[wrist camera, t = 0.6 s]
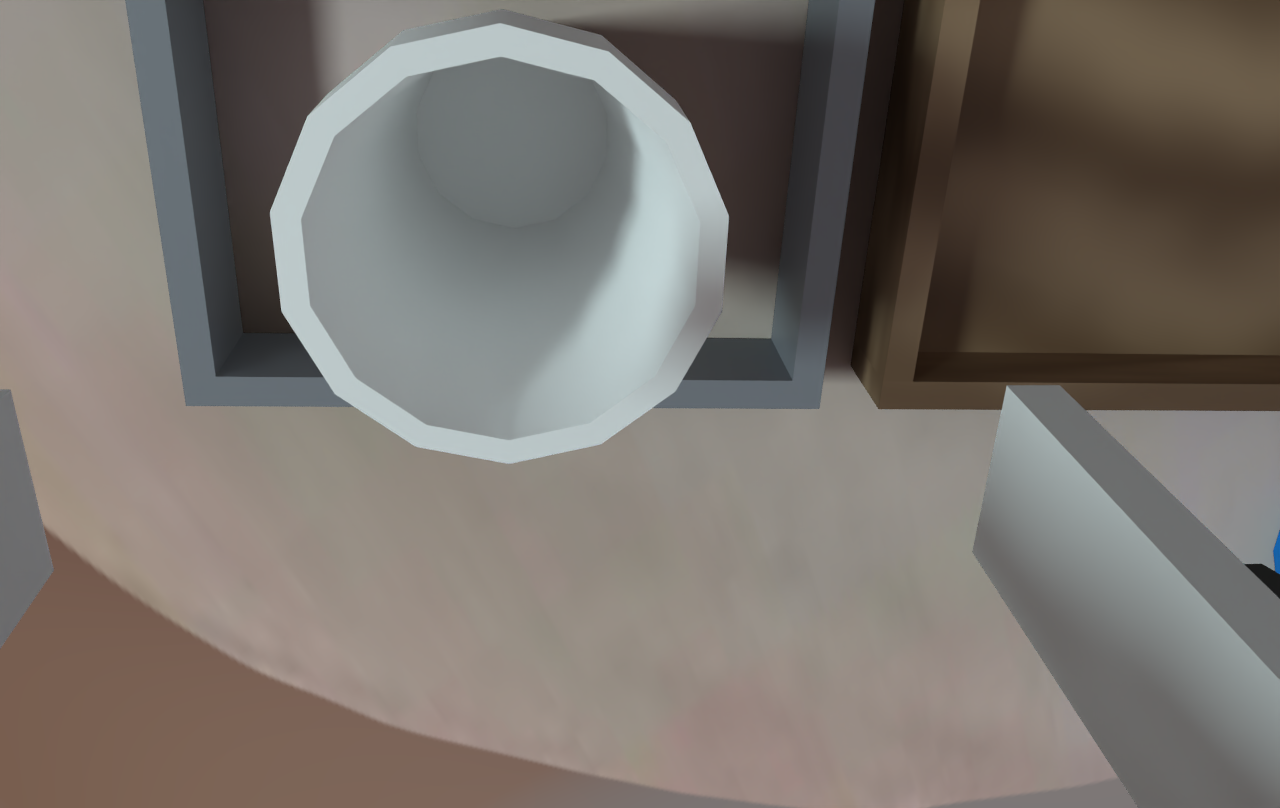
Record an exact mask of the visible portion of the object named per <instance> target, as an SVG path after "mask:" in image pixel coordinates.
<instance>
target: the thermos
mask: <svg viewBox="0 0 1280 808" xmlns="http://www.w3.org/2000/svg"><path fill="white" fill-rule="evenodd" d="M1273 552H1274V562H1275V572H1277V573H1278V574H1280V531H1279V535H1278V538H1277V541H1276V544H1275V547H1274V551H1273Z"/></svg>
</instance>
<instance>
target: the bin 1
mask: <svg viewBox="0 0 1280 808" xmlns="http://www.w3.org/2000/svg"><path fill="white" fill-rule="evenodd" d="M125 1H126V8H127V15H128V22H129V28H130V35H131V42H132V48H133V55H134V62H135V68H136V75H137V82H138V88H139V95H140V102H141V108H142V115H143V122H144V128H145V135H146V142H147V148H148V155H149V162H150V168H151V175H152V182H153V188H154V195H155V202H156V208H157V215H158V222H159V228H160V235H161V242H162V248H163V255H164V262H165V268H166V275H167V282H168V289H169V295H170V302H171V309H172V315H173V322H174V329H175V335H176V342H177V349H178V355H179V362H180V369H181V375H182V382H183V389H184V395H185V402H186V406H323V407H354V406H352V405H351V404H349V403H348V402H346V401H345V400H343V399H342V398H340V397H339V396H337V395H335V394H334V392H333V390H332V389H331V387H330V386H329V384H328V383H327V381H326V380H325V378H324V377H323V375H322V373H321V372H320V370H319V369H318V367H317V366H316V364H315V363H314V361H313V360H312V358H311V357H310V355H309V353H308V352H307V350H306V349H305V347H304V346H303V344H302V343H301V341H300V340H299V338H298V336H297V335H296V334H288V333H243V329H242V321H241V313H240V304H239V296H238V288H237V279H236V271H235V263H234V254H233V246H232V238H231V229H230V221H229V213H228V204H227V196H226V188H225V179H224V171H223V163H222V155H221V146H220V138H219V130H218V121H217V113H216V105H215V96H214V88H213V80H212V71H211V63H210V55H209V46H208V38H207V30H206V21H205V13H204V5H203V0H125ZM874 4H875V0H809V4H808V13H807V22H806V31H805V40H804V49H803V58H802V67H801V76H800V85H799V94H798V103H797V112H796V121H795V130H794V139H793V148H792V157H791V166H790V175H789V184H788V193H787V202H786V211H785V220H784V229H783V238H782V247H781V256H780V265H779V274H778V283H777V292H776V301H775V310H774V319H773V328H772V337H771V339H731V338H706V340H705V342H704V343H703V345H702V347H701V348H700V350H699V352H698V354H697V355H696V357H695V359H694V361H693V362H692V364H691V366H690V367H689V369H688V371H687V373H686V374H685V376H684V378H683V379H682V381H681V383H680V385H679V386H678V388H677V390H676V391H675V392H674V393H673V394H671V395H670V396H668V397H667V398H666V399H664V400H663V401H661V402H660V403H658V404H657V405H656V406H654V407H653V408H761V409H819V407H820V400H821V393H822V385H823V378H824V371H825V363H826V356H827V349H828V341H829V334H830V327H831V319H832V312H833V305H834V297H835V290H836V283H837V275H838V268H839V261H840V253H841V246H842V239H843V231H844V224H845V217H846V209H847V202H848V195H849V187H850V180H851V173H852V165H853V158H854V151H855V143H856V136H857V129H858V121H859V114H860V107H861V99H862V92H863V85H864V77H865V70H866V63H867V55H868V48H869V41H870V33H871V26H872V19H873V11H874Z"/></svg>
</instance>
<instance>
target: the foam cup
mask: <svg viewBox="0 0 1280 808" xmlns="http://www.w3.org/2000/svg"><path fill="white" fill-rule="evenodd" d="M270 219H271V227H272V236H273V244H274V252H275V261H276V269H277V278H278V286H279V295H280V303H281V312H282V313H283V315H284V316H285V318H286V319H287V321H288V323H289V324H290V326H291V327H292V329H293V330H294V332H295V333H296V335H297V336H298V338H299V340H300V341H301V343H302V344H303V346H304V347H305V349H306V350H307V352H308V353H309V355H310V357H311V358H312V360H313V361H314V363H315V364H316V366H317V367H318V369H319V370H320V372H321V373H322V375H323V377H324V378H325V380H326V381H327V383H328V384H329V386H330V387H331V389H332V390H333V392H334V394H335V395H337V396H339V397H340V398H342V399H343V400H345V401H346V402H348V403H349V404H351V405H352V406H354V407H355V408H357V409H359V410H360V411H362V412H363V413H365V414H366V415H368V416H369V417H371V418H372V419H374V420H375V421H377V422H379V423H380V424H382V425H383V426H385V427H386V428H388V429H389V430H391V431H392V432H394V433H395V434H397V435H399V436H400V437H402V438H403V439H405V440H406V441H408V442H409V443H411V444H412V445H414V446H415V447H420V448H425V449H431V450H436V451H442V452H447V453H453V454H458V455H463V456H469V457H474V458H480V459H485V460H491V461H496V462H502V463H507V464H511V463H516V462H520V461H525V460H530V459H535V458H539V457H544V456H549V455H553V454H558V453H563V452H567V451H572V450H577V449H581V448H586V447H591V446H596V445H600V444H602V443H603V442H605V441H606V440H607V439H609V438H610V437H612V436H613V435H615V434H616V433H617V432H619V431H620V430H622V429H623V428H624V427H626V426H627V425H629V424H630V423H632V422H633V421H634V420H636V419H637V418H639V417H640V416H641V415H643V414H644V413H646V412H647V411H649V410H650V409H651V408H653V407H654V406H656V405H657V404H658V403H660V402H661V401H663V400H664V399H666V398H667V397H668V396H670V395H671V394H673V393H674V392H675V391H676V390H677V388H678V386H679V385H680V383H681V381H682V379H683V378H684V376H685V374H686V373H687V371H688V369H689V367H690V366H691V364H692V362H693V361H694V359H695V357H696V355H697V354H698V352H699V350H700V348H701V347H702V345H703V343H704V342H705V340H706V338H707V336H708V335H709V333H710V331H711V330H712V328H713V326H714V324H715V323H716V321H717V319H718V318H719V316H720V314H721V312H722V305H723V291H724V278H725V264H726V250H727V237H728V223H729V215H728V213H727V210H726V208H725V205H724V203H723V200H722V198H721V196H720V193H719V191H718V188H717V186H716V184H715V181H714V179H713V176H712V174H711V171H710V169H709V167H708V164H707V162H706V159H705V157H704V154H703V152H702V150H701V147H700V145H699V142H698V140H697V138H696V135H695V133H694V130H693V128H692V125H691V123H690V121H689V120H688V118H687V117H686V115H685V114H684V112H683V110H682V109H681V107H680V106H679V104H678V103H677V101H676V100H675V99H674V98H673V97H672V96H671V95H669V94H668V93H667V92H666V91H665V90H664V89H663V88H661V87H660V86H659V85H658V84H657V83H656V82H655V81H653V80H652V79H651V78H650V77H649V76H648V75H647V74H645V73H644V72H643V71H642V70H641V69H640V68H639V67H637V66H636V65H635V64H634V63H633V62H632V61H631V60H629V59H628V58H627V57H626V56H625V55H624V54H623V53H621V52H620V51H619V50H618V49H617V48H616V47H615V46H613V45H612V44H611V43H610V42H609V41H608V40H607V39H605V38H604V37H603V36H602V35H599V34H595V33H592V32H588V31H584V30H580V29H576V28H573V27H569V26H565V25H561V24H558V23H554V22H550V21H546V20H543V19H539V18H535V17H531V16H527V15H524V14H520V13H516V12H512V11H509V10H505V9H500V10H496V11H491V12H486V13H482V14H477V15H472V16H468V17H463V18H458V19H454V20H449V21H444V22H440V23H435V24H430V25H426V26H421V27H416V28H412V29H407V30H403V31H402V32H401V33H400V34H398V35H397V36H396V37H395V38H394V39H392V40H391V41H390V42H389V43H388V44H386V45H385V46H384V47H383V48H382V49H380V50H379V51H378V52H377V53H376V54H374V55H373V56H372V57H371V58H370V59H369V60H367V61H366V62H365V63H364V64H363V65H361V66H360V67H359V68H358V69H357V70H355V71H354V72H353V73H352V74H351V75H349V76H348V77H347V78H346V79H345V80H344V81H342V82H341V83H340V84H339V85H338V86H336V87H335V88H334V89H333V90H332V91H330V92H329V93H328V94H327V95H326V96H325V97H324V98H323V100H322V101H321V102H320V103H319V104H318V105H317V106H316V107H315V108H314V109H313V111H312V112H311V113H310V114H309V115H308V116H307V118H306V121H305V124H304V126H303V129H302V131H301V134H300V136H299V139H298V141H297V144H296V147H295V149H294V152H293V154H292V157H291V159H290V162H289V164H288V167H287V170H286V172H285V175H284V177H283V180H282V182H281V185H280V188H279V190H278V193H277V195H276V198H275V200H274V203H273V205H272V208H271V211H270Z"/></svg>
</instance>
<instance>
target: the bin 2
mask: <svg viewBox="0 0 1280 808" xmlns="http://www.w3.org/2000/svg"><path fill="white" fill-rule="evenodd" d="M851 367H852V369H853V370H854V372H855V373H856V375H857V376H858V378H859V379H860V381H861V383H862V384H863V386H864V387H865V389H866V390H867V392H868V393H869V395H870V396H871V398H872V400H873V401H874V403H875V404H876V406H877V407H878V409H981V410H1002V406H1003V401H1004V396H1005V391H1006V386H1007V385H1060V386H1061V387H1062V388H1063V389H1064V390H1065V391H1066V392H1067V393H1068V394H1069V395H1070V396H1071V397H1072V398H1073V399H1074V400H1075V401H1076V402H1077V403H1078V404H1080V405H1081V406H1082V407H1083V408H1084V409H1085V410H1200V411H1280V0H905V1H904V7H903V14H902V21H901V28H900V34H899V41H898V48H897V55H896V61H895V68H894V75H893V82H892V89H891V95H890V102H889V109H888V116H887V122H886V129H885V136H884V143H883V150H882V156H881V163H880V170H879V177H878V183H877V190H876V197H875V204H874V211H873V217H872V224H871V231H870V238H869V244H868V251H867V258H866V265H865V271H864V278H863V285H862V292H861V299H860V305H859V312H858V319H857V326H856V332H855V339H854V346H853V353H852V360H851Z"/></svg>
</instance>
